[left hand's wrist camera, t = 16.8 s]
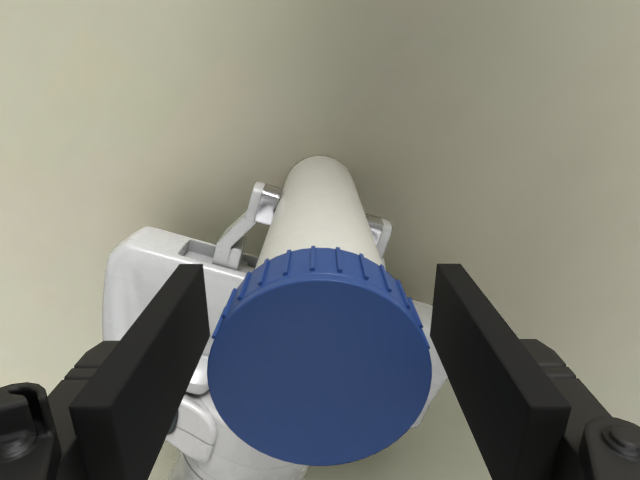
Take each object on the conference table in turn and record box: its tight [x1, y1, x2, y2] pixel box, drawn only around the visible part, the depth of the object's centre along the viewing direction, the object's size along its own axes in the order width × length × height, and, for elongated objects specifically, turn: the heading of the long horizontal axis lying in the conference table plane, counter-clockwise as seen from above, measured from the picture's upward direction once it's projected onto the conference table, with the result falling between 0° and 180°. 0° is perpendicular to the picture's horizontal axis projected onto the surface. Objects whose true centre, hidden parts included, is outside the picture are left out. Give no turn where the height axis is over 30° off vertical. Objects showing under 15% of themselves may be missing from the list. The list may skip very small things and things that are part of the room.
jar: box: [255, 156, 383, 269], centre depth 20 cm, size 5×5×19 cm
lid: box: [207, 246, 432, 466], centre depth 11 cm, size 6×6×2 cm
